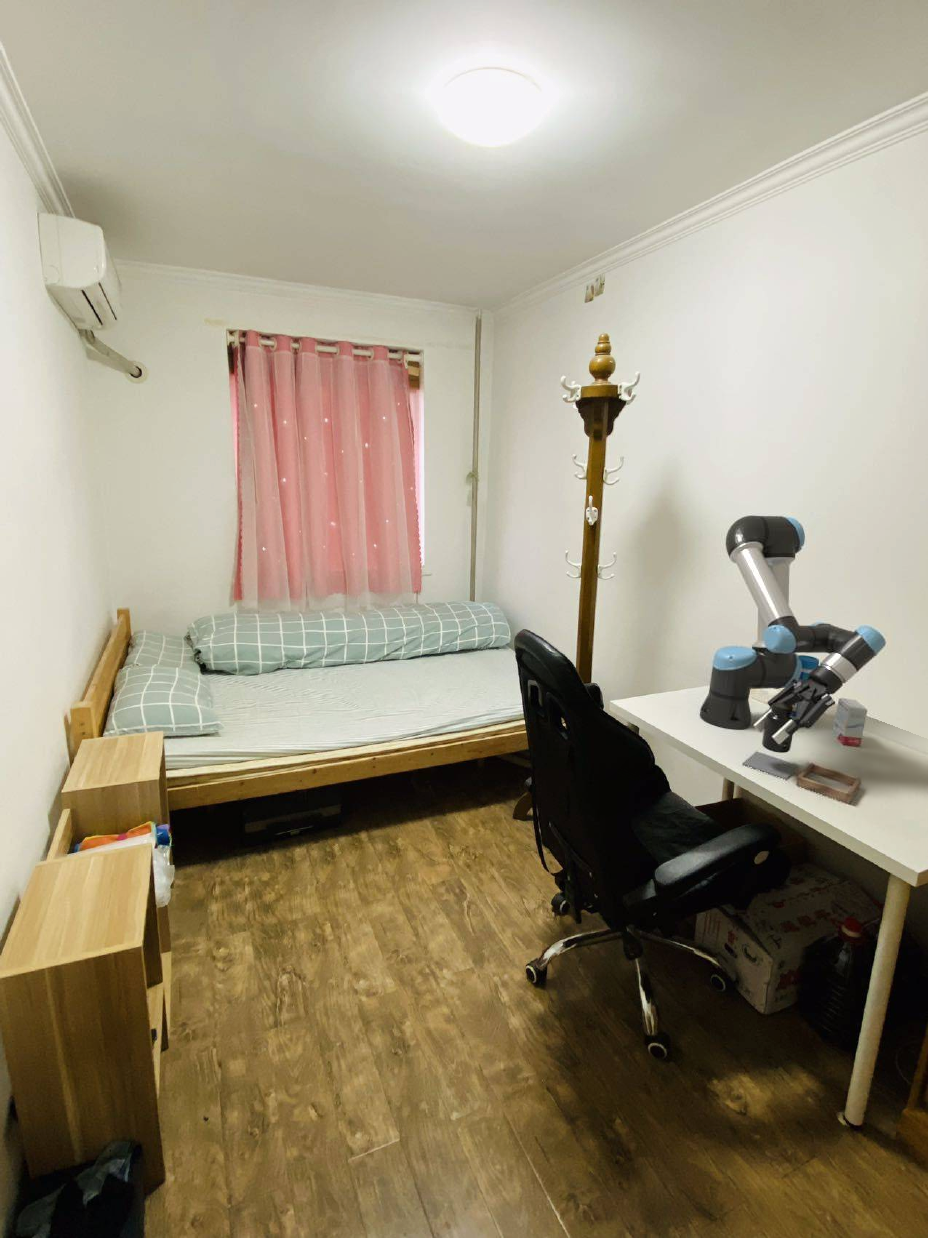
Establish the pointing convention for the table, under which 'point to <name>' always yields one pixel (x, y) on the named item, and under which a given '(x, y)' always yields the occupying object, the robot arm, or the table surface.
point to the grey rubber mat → (771, 765)
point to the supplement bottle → (777, 727)
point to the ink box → (849, 722)
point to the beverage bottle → (804, 677)
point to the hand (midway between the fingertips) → (766, 734)
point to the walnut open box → (828, 790)
